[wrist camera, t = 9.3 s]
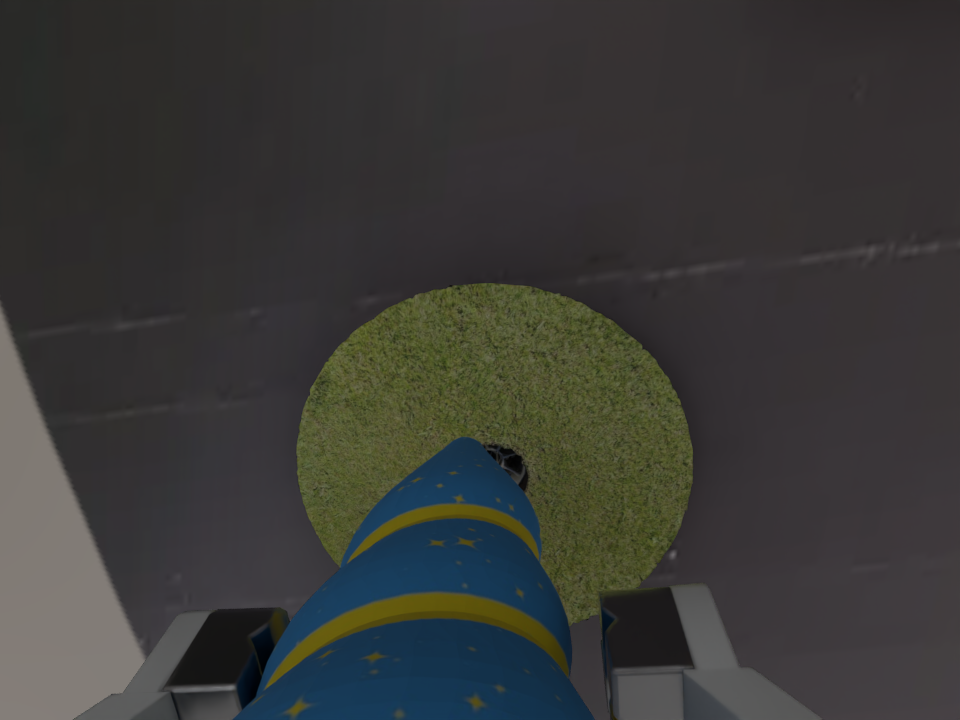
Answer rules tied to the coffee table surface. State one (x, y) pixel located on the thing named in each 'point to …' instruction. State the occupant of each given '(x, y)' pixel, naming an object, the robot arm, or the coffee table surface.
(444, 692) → the ornament
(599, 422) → the green flat round disc
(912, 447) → the coffee table surface
